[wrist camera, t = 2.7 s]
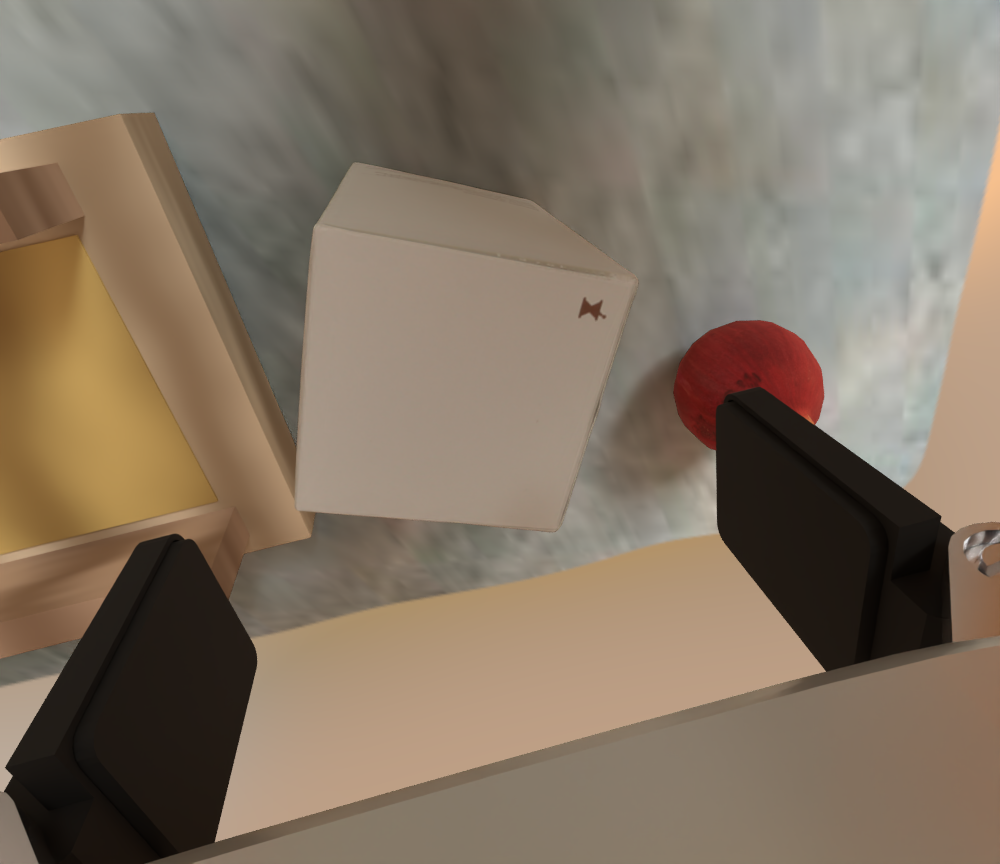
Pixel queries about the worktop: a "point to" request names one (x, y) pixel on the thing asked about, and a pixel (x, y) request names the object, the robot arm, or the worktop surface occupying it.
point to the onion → (745, 373)
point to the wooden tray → (121, 381)
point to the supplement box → (450, 354)
